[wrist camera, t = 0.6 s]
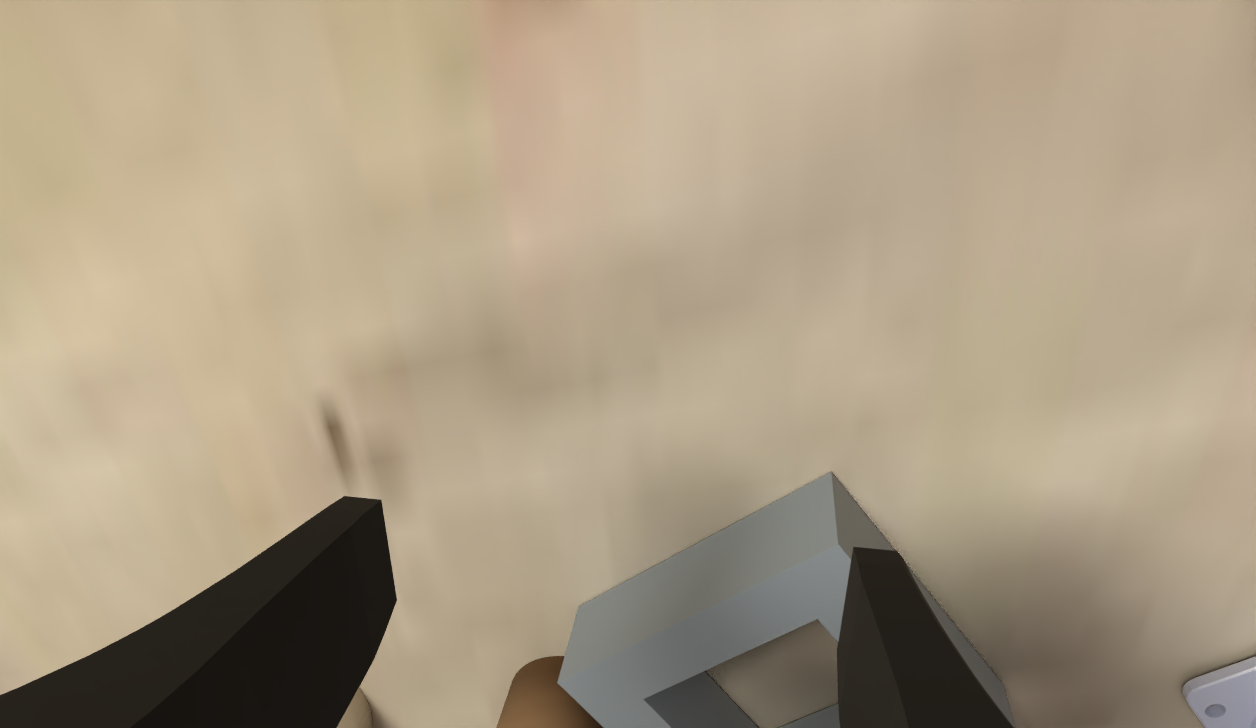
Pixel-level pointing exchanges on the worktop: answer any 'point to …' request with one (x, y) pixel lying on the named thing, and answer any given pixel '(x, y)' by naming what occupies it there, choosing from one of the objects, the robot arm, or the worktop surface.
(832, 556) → the socket board
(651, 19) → the worktop surface
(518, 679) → the walnut dowel
